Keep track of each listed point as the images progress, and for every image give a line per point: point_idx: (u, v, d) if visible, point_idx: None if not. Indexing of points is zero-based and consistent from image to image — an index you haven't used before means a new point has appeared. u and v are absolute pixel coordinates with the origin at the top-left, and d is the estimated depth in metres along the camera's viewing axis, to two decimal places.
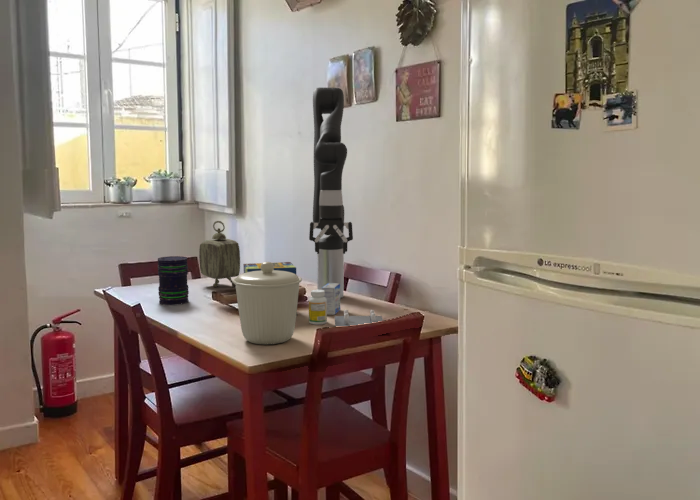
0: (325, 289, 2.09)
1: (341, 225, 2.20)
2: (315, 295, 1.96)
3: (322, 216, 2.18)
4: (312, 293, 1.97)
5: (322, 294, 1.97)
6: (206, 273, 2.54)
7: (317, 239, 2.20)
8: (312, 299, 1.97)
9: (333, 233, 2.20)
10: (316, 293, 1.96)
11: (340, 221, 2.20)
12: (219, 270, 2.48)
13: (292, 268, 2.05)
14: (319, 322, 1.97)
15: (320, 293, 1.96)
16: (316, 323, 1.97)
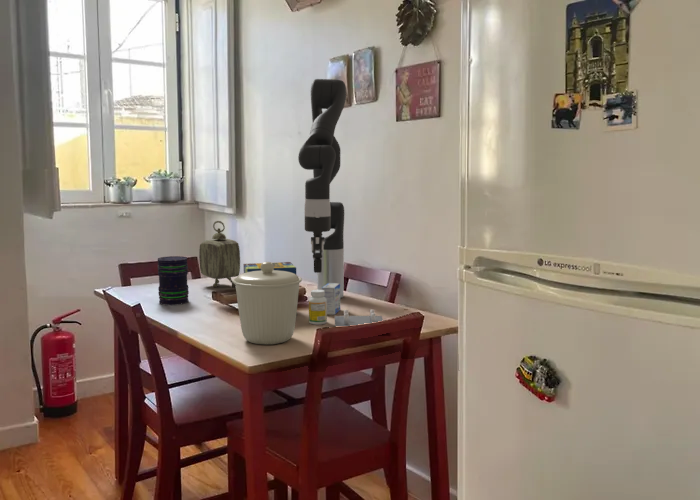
0: (325, 289, 2.09)
1: None
2: (315, 295, 1.96)
3: (326, 228, 1.93)
4: (312, 293, 1.97)
5: (322, 294, 1.97)
6: (206, 273, 2.54)
7: None
8: (312, 299, 1.97)
9: None
10: (316, 293, 1.96)
11: (321, 232, 1.99)
12: (219, 270, 2.48)
13: (292, 268, 2.05)
14: (319, 322, 1.97)
15: (320, 293, 1.96)
16: (316, 323, 1.97)
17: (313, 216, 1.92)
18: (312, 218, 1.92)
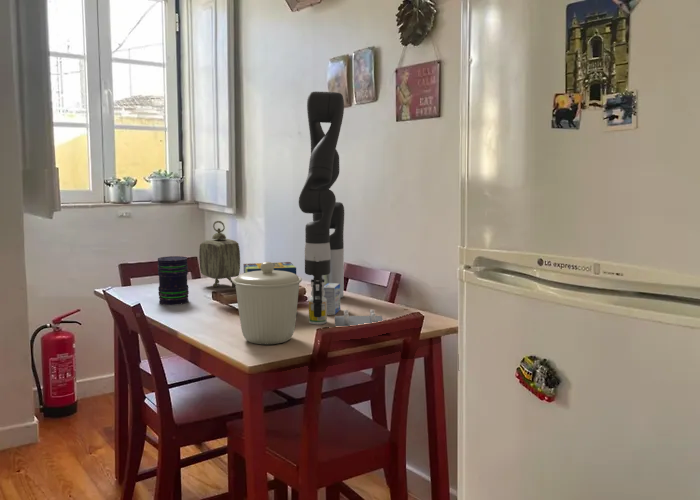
0: (325, 289, 2.09)
1: None
2: None
3: (326, 272, 1.95)
4: None
5: None
6: (206, 273, 2.54)
7: None
8: (312, 299, 1.97)
9: None
10: None
11: None
12: (219, 270, 2.48)
13: (292, 268, 2.05)
14: (319, 322, 1.97)
15: None
16: (316, 323, 1.97)
17: (313, 260, 1.93)
18: (312, 262, 1.93)
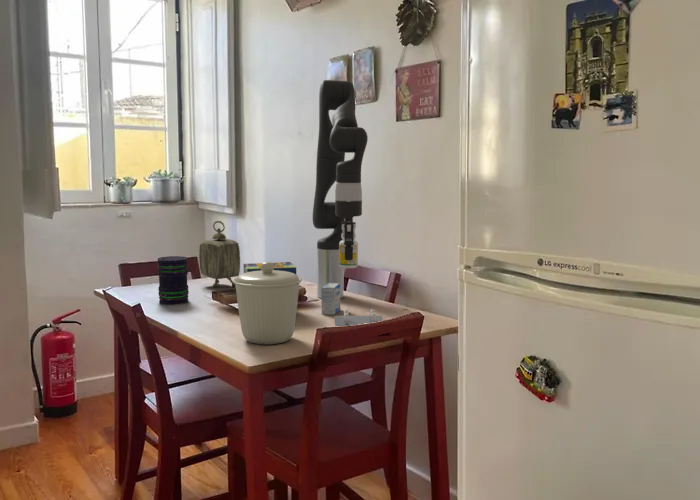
0: (325, 289, 2.09)
1: None
2: None
3: (357, 213, 1.88)
4: None
5: None
6: (206, 273, 2.54)
7: None
8: (343, 242, 1.90)
9: None
10: None
11: None
12: (219, 271, 2.48)
13: (292, 268, 2.05)
14: (350, 265, 1.90)
15: None
16: (347, 267, 1.90)
17: (344, 200, 1.86)
18: (343, 202, 1.87)
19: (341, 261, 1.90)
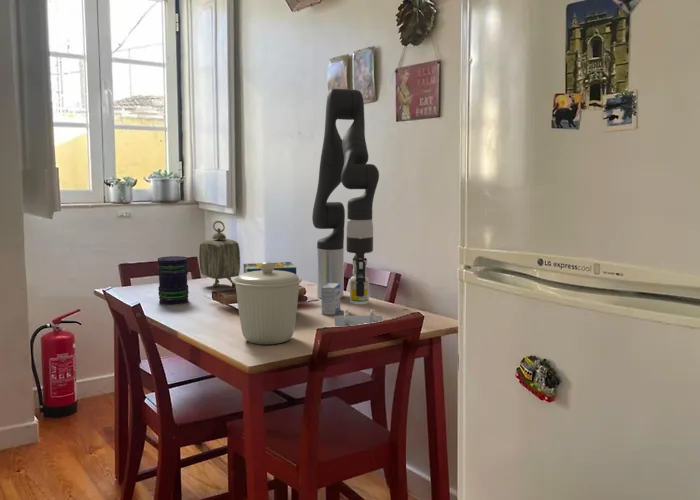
0: (325, 289, 2.09)
1: None
2: None
3: (369, 249, 1.88)
4: None
5: None
6: (206, 273, 2.54)
7: None
8: (354, 278, 1.90)
9: None
10: None
11: None
12: (219, 270, 2.48)
13: (292, 268, 2.05)
14: (361, 302, 1.90)
15: None
16: (358, 303, 1.90)
17: (356, 237, 1.87)
18: (355, 239, 1.87)
19: (352, 297, 1.91)
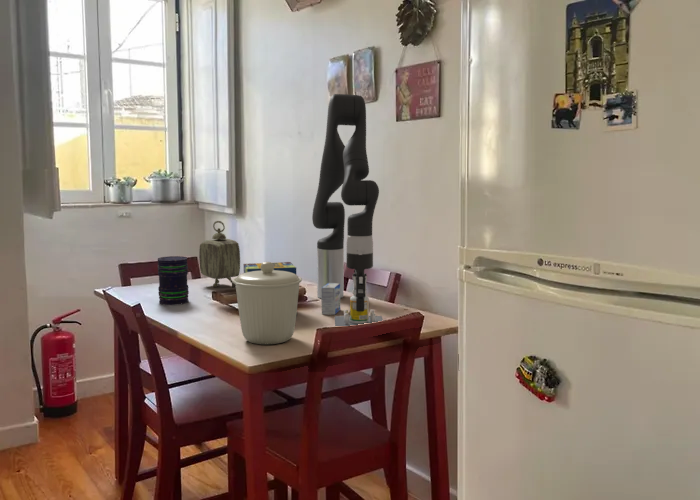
0: (325, 289, 2.09)
1: None
2: None
3: (369, 265, 1.89)
4: (354, 291, 1.91)
5: None
6: (206, 273, 2.54)
7: None
8: (354, 297, 1.91)
9: None
10: (358, 291, 1.91)
11: None
12: (219, 270, 2.48)
13: (292, 268, 2.05)
14: (361, 321, 1.91)
15: (362, 291, 1.91)
16: (358, 322, 1.91)
17: (356, 253, 1.87)
18: (355, 255, 1.88)
19: (352, 317, 1.92)
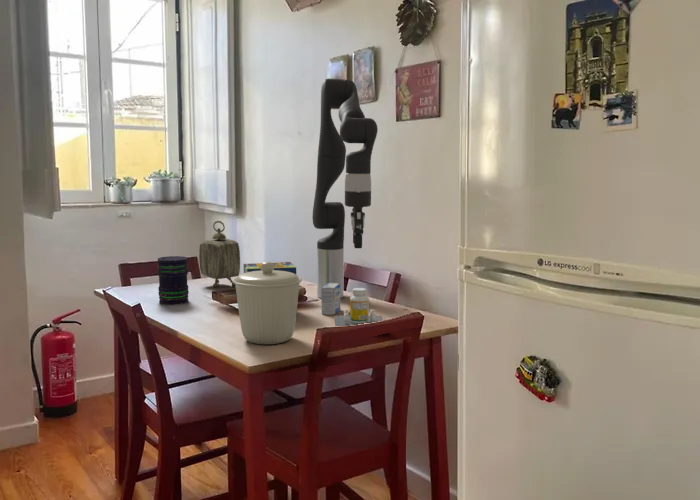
0: (325, 289, 2.09)
1: None
2: (357, 293, 1.91)
3: (367, 203, 1.90)
4: (354, 291, 1.91)
5: (364, 292, 1.91)
6: (206, 273, 2.54)
7: None
8: (354, 298, 1.91)
9: None
10: (358, 291, 1.91)
11: None
12: (219, 271, 2.48)
13: (292, 268, 2.05)
14: (361, 321, 1.91)
15: (362, 291, 1.91)
16: (358, 322, 1.91)
17: (354, 191, 1.88)
18: (353, 193, 1.88)
19: (352, 317, 1.92)
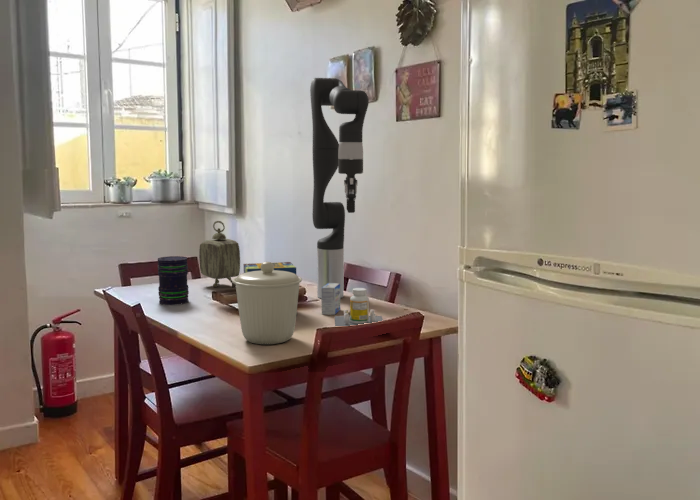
0: (325, 289, 2.09)
1: None
2: (357, 293, 1.91)
3: (359, 170, 2.01)
4: (354, 291, 1.91)
5: (364, 292, 1.91)
6: (206, 273, 2.54)
7: None
8: (354, 298, 1.91)
9: None
10: (358, 291, 1.91)
11: None
12: (219, 270, 2.48)
13: (292, 268, 2.05)
14: (361, 321, 1.91)
15: (362, 291, 1.91)
16: (358, 322, 1.91)
17: (347, 158, 2.00)
18: (346, 160, 2.00)
19: (352, 317, 1.92)
